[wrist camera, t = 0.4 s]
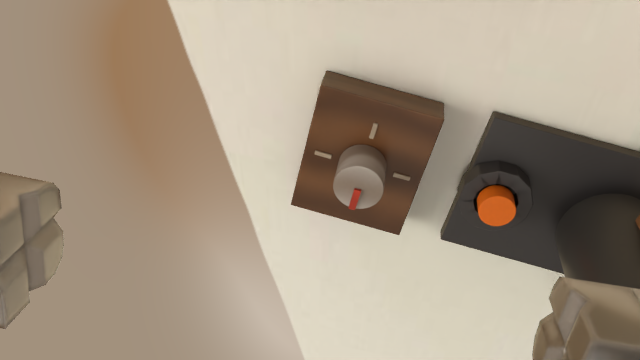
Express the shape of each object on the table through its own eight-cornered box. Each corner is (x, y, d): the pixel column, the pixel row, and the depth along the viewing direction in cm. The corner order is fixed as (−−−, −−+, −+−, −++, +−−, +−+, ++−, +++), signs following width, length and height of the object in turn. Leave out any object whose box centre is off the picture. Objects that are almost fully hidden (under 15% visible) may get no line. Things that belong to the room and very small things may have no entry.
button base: (435, 230, 57) (435, 250, 54) (487, 109, 49) (490, 126, 47) (605, 278, 56) (613, 300, 54) (683, 164, 49) (696, 183, 47)
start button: (471, 208, 52) (472, 220, 50) (484, 180, 50) (486, 192, 48) (505, 218, 52) (507, 230, 50) (519, 190, 50) (522, 202, 48)
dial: (345, 138, 49) (339, 162, 46) (392, 152, 49) (389, 176, 46) (333, 178, 52) (327, 203, 48) (379, 190, 52) (375, 216, 48)
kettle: (601, 147, 46) (665, 279, 34) (702, 175, 46) (804, 318, 34) (521, 285, 55) (548, 433, 42) (607, 309, 55) (660, 465, 42)
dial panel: (326, 70, 50) (320, 85, 47) (443, 103, 50) (444, 120, 47) (296, 186, 56) (290, 205, 54) (400, 215, 56) (399, 236, 54)
